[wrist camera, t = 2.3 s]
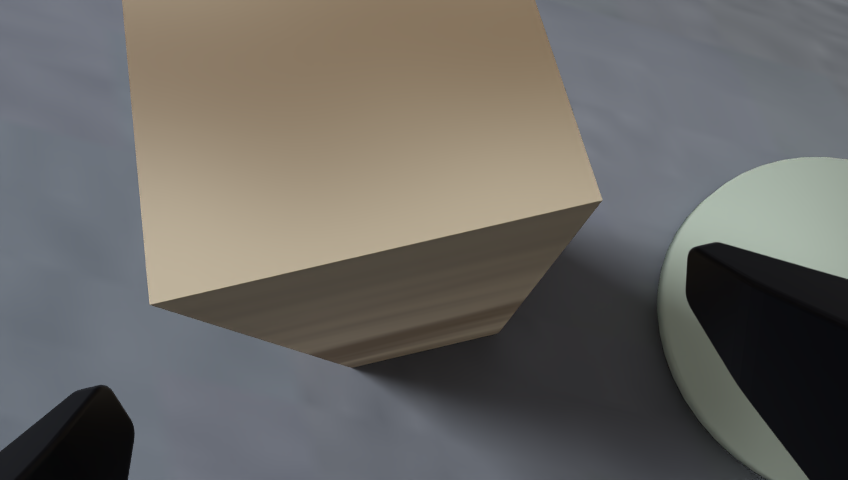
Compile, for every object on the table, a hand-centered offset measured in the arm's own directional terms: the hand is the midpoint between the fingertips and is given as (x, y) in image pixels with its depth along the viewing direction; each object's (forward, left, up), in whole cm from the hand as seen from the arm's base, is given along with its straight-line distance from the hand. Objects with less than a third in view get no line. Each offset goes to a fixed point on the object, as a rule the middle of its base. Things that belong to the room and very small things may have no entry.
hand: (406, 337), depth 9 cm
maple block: (+3, +2, -10) cm, 11 cm away
